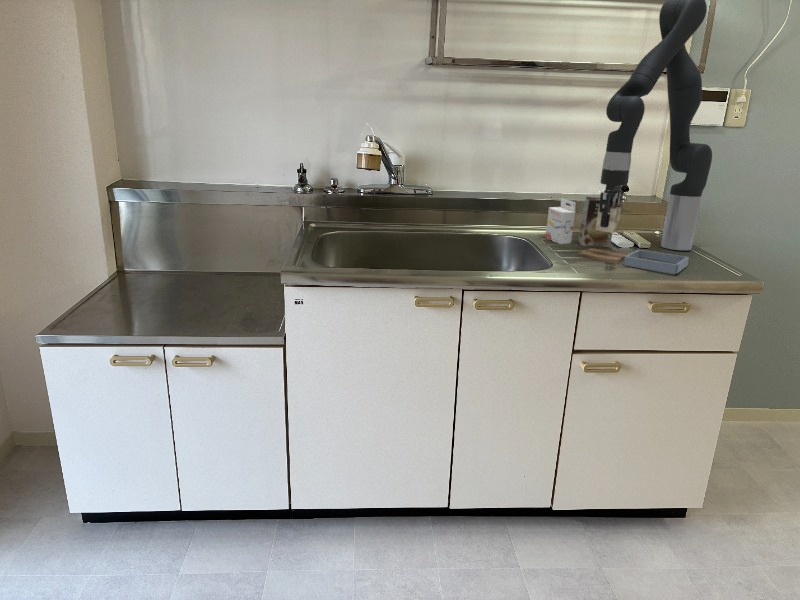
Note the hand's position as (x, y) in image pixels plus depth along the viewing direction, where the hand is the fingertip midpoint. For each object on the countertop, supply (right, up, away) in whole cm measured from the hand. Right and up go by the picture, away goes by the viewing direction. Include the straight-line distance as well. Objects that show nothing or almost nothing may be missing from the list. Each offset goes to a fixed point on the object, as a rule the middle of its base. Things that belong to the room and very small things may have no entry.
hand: (607, 225), depth 172 cm
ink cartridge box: (-9, -4, +20) cm, 23 cm away
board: (0, -9, +3) cm, 10 cm away
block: (0, -1, 0) cm, 1 cm away
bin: (+12, -12, -5) cm, 18 cm away
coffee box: (+2, -5, +17) cm, 18 cm away
